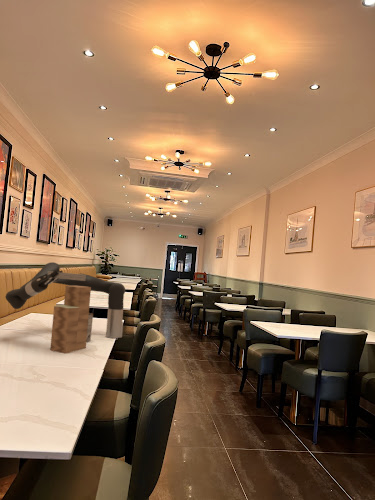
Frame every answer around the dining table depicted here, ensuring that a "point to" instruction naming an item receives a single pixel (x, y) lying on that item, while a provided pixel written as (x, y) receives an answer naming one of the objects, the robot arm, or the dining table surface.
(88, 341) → the coffee box
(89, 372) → the dining table surface
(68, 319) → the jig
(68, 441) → the dining table surface
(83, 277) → the bar
